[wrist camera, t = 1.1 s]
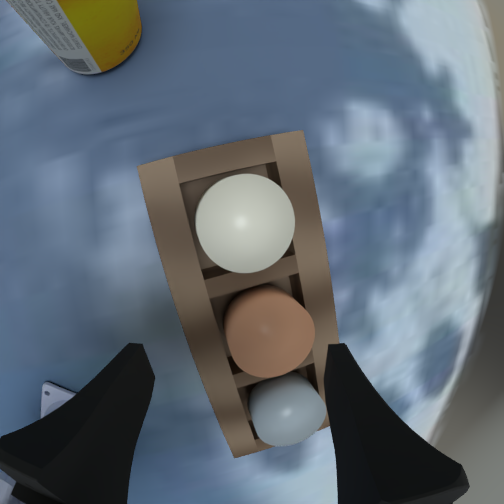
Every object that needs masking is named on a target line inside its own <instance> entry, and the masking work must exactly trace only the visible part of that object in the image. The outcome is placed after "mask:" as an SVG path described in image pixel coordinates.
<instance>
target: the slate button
mask: <svg viewBox="0 0 504 504" xmlns="http://www.w3.org/2000/svg"><path fill="white" fill-rule="evenodd" d="M247 406H248V410H249V413H250V416H251V419H252V421H253V424H254V427H255V430H256V432H257V435H258V437H259V438H260V439H261V440H262V441H263V442H265V443H267V444H269V445H273V446H288V445H293V444H296V443H299V442H301V441H303V440H305V439H307V438H308V437H310V436H311V435H313V434H314V433H315V432H316V431H317V430H318V429H319V428H320V426H321V425H322V423H323V421H324V419H325V416H326V405H325V403H324V402H323V400H322V399H321V397H320V396H319V395H318V393H317V392H316V390H315V389H314V387H313V386H312V385H311V383H310V382H309V380H308V379H307V378H306V377H305V376H303V375H301V374H299V373H296V372H288V373H286V374H283V375H280V376H277V377H271V378H268V379H265V380H262V381H260V382H259V383H258V384H257V385H256V386H255V387H254V388H253V389H252V391H251V393H250V395H249V397H248V402H247Z"/></svg>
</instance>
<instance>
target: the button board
mask: <svg viewBox="0 0 504 504" xmlns="http://www.w3.org/2000/svg"><path fill="white" fill-rule="evenodd" d="M137 169H138V173H139V178H140V182H141V186H142V190H143V194H144V198H145V203H146V206H147V210H148V214H149V218H150V222H151V226H152V229H153V233H154V237H155V240H156V244H157V247H158V251H159V255H160V258H161V261H162V265H163V268H164V271H165V275H166V278H167V281H168V285H169V288H170V291H171V294H172V297H173V300H174V304H175V307H176V310H177V313H178V316H179V319H180V322H181V325H182V328H183V330H184V333H185V336H186V339H187V342H188V345H189V348H190V350H191V353H192V356H193V359H194V361H195V364H196V367H197V369H198V372H199V375H200V377H201V380H202V382H203V385H204V388H205V390H206V393H207V395H208V398H209V400H210V403H211V405H212V408H213V410H214V412H215V415H216V417H217V420H218V422H219V424H220V427H221V429H222V431H223V434H224V436H225V438H226V441H227V443H228V445H229V447H230V450H231V452H232V454H233V456H234V458H237V457H241V456H245V455H248V454H252V453H255V452H258V451H262V450H265V449H268V448H271V447H274V446H273V445H269V444H267V443H265V442H263V441H262V440H261V439H260V438H259V437H258V435H257V432H256V430H255V427H254V424H253V421H252V419H251V416H250V413H249V410H248V406H247V402H248V397H249V395H250V393H251V391H252V389H253V388H254V387H255V386H256V385H257V384H258V383H259V382H260V381H262V380H265V379H268V378H262V377H256V376H253V375H250V374H248V373H246V372H245V371H243V370H242V369H241V368H240V367H238V365H237V364H236V363H235V361H234V359H233V357H232V355H231V352H230V349H229V346H228V343H227V340H226V337H225V334H224V330H223V319H224V315H225V312H226V310H227V308H228V306H229V304H230V303H231V301H232V300H233V299H234V298H235V297H236V296H237V295H239V294H240V293H241V292H243V291H245V290H247V289H249V288H251V287H255V286H259V285H271V286H276V287H279V288H281V289H283V290H285V291H286V292H287V293H289V294H290V295H291V296H292V297H293V298H294V299H295V300H296V301H297V302H298V303H299V304H300V305H301V306H302V307H303V308H304V309H305V310H306V311H307V312H308V313H309V314H310V316H311V318H312V320H313V323H314V327H315V338H314V343H313V346H312V348H311V351H310V352H309V354H308V356H307V357H306V358H305V360H304V361H303V362H302V363H301V364H300V365H299V366H297V367H296V368H295V369H293V370H292V371H290V372H296V373H299V374H301V375H303V376H305V377H306V378H307V379H308V380H309V382H310V383H311V385H312V386H313V387H314V389H315V390H316V392H317V393H318V395H319V396H320V397H321V399H322V400H323V402H324V403H325V405H326V402H325V391H324V372H325V365H326V358H327V350H328V344H339V337H338V329H337V320H336V312H335V305H334V297H333V290H332V283H331V276H330V269H329V263H328V257H327V250H326V244H325V238H324V232H323V227H322V221H321V215H320V210H319V205H318V199H317V194H316V189H315V184H314V179H313V174H312V169H311V165H310V160H309V155H308V151H307V146H306V142H305V137H304V133H303V130H300V131H294V132H287V133H281V134H275V135H269V136H264V137H258V138H253V139H248V140H242V141H237V142H233V143H228V144H223V145H218V146H214V147H209V148H205V149H201V150H196V151H192V152H188V153H184V154H180V155H176V156H172V157H168V158H164V159H161V160H157V161H153V162H150V163H146V164H143V165H139V166H137ZM239 174H256V175H260V176H263V177H265V178H268V179H270V180H271V181H273V182H275V183H276V184H277V185H278V186H279V187H280V188H281V189H282V190H283V191H284V192H285V193H286V195H287V196H288V198H289V200H290V202H291V204H292V207H293V211H294V216H295V228H294V234H293V238H292V240H291V243H290V245H289V247H288V249H287V250H286V252H285V253H284V254H283V256H282V257H281V258H280V259H279V260H278V261H276V262H275V263H274V264H273V265H271V266H269V267H268V268H266V269H263V270H261V271H257V272H253V273H237V272H232V271H229V270H226V269H224V268H222V267H220V266H219V265H217V264H216V263H215V262H213V261H212V260H211V259H210V258H209V257H208V255H207V254H206V253H205V251H204V250H203V248H202V246H201V244H200V241H199V238H198V236H197V233H196V229H195V223H194V216H195V210H196V206H197V203H198V201H199V199H200V197H201V196H202V194H203V193H204V191H205V190H206V189H207V188H208V187H209V186H211V185H212V184H213V183H215V182H216V181H218V180H220V179H223V178H226V177H230V176H234V175H239ZM270 378H271V377H270ZM328 426H330V423H329V418H328V413H327V408H326V416H325V419H324V421H323V423H322V425H321V426H320V428H319V429H318V430H317V431H319V430H321V429H324V428H326V427H328Z"/></svg>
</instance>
